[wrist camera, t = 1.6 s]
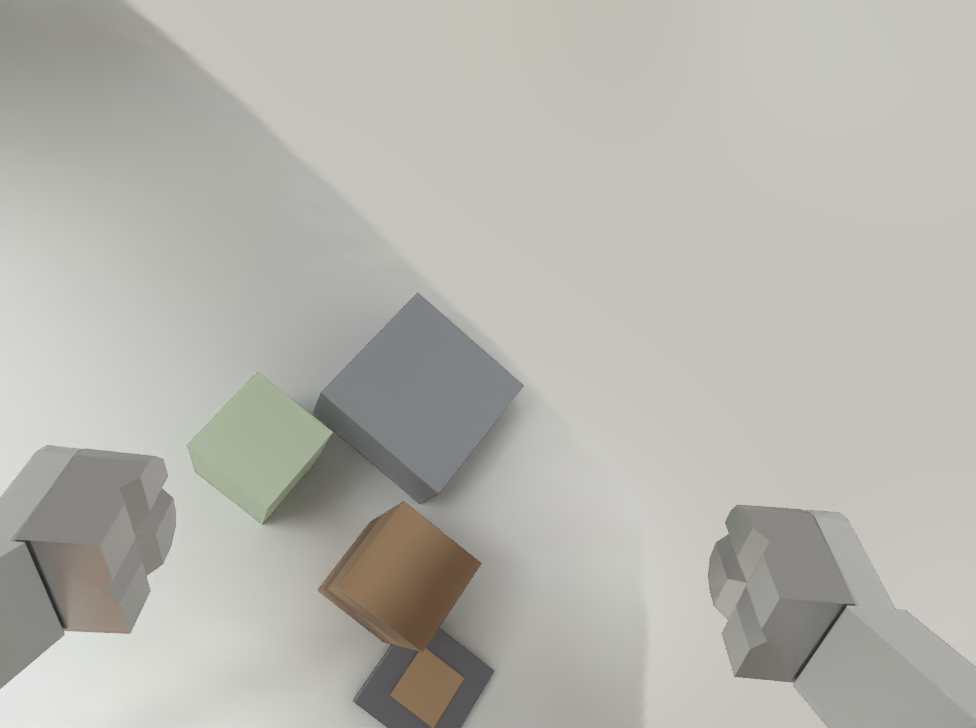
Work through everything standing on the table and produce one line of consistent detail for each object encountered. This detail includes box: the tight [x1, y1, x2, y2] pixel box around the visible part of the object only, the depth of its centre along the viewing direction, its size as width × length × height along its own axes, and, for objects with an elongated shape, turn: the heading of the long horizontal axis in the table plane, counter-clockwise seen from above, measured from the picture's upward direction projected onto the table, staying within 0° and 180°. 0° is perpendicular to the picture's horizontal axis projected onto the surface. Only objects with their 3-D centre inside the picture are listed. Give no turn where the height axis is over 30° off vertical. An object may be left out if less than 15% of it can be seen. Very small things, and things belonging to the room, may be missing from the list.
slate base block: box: [313, 293, 524, 504], centre depth 45 cm, size 9×9×5 cm
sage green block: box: [187, 372, 333, 524], centre depth 39 cm, size 5×5×8 cm
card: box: [353, 628, 494, 728], centre depth 41 cm, size 6×6×1 cm
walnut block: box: [317, 502, 481, 652], centre depth 38 cm, size 5×5×10 cm
